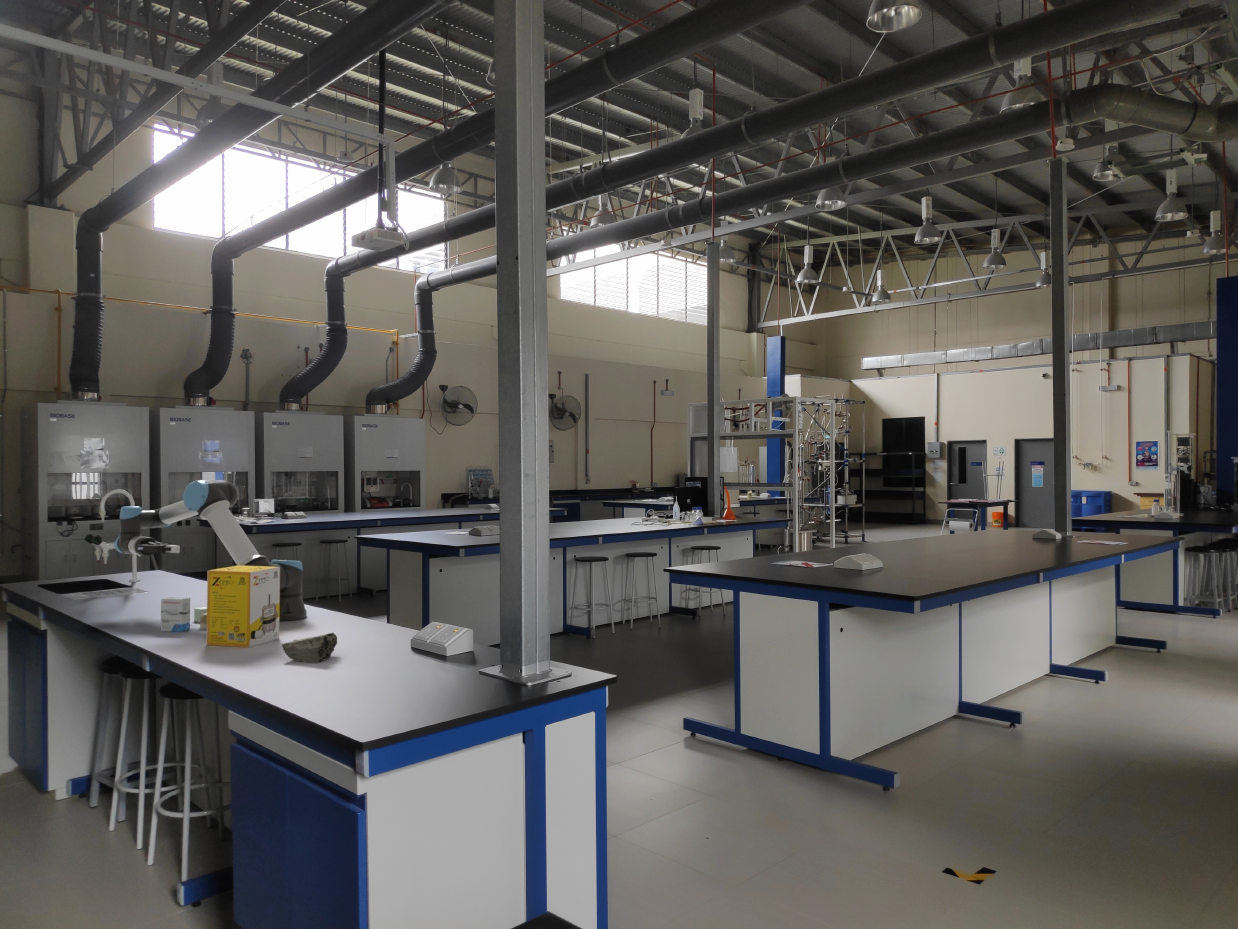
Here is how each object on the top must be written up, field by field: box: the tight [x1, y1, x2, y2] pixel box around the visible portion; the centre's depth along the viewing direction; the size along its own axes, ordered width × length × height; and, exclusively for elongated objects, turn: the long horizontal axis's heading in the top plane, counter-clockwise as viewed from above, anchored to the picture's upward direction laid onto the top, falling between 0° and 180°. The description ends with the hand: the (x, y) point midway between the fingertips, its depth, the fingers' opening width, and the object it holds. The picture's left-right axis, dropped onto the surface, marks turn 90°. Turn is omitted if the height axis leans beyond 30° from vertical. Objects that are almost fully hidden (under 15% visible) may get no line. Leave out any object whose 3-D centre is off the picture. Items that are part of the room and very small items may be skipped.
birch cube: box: [199, 613, 207, 630], centre depth 302 cm, size 5×5×5 cm
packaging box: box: [205, 565, 280, 648], centre depth 278 cm, size 16×16×25 cm
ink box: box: [160, 596, 191, 633], centre depth 296 cm, size 8×5×12 cm, turn 84°
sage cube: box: [193, 606, 207, 623], centre depth 315 cm, size 5×5×5 cm
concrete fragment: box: [281, 632, 338, 664], centre depth 254 cm, size 15×10×15 cm
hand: (177, 549), depth 312 cm, fingers closed
